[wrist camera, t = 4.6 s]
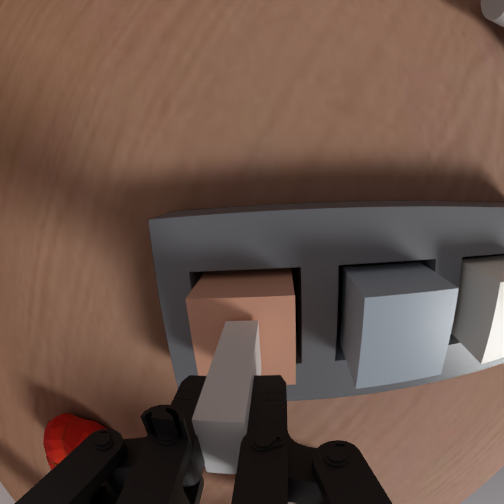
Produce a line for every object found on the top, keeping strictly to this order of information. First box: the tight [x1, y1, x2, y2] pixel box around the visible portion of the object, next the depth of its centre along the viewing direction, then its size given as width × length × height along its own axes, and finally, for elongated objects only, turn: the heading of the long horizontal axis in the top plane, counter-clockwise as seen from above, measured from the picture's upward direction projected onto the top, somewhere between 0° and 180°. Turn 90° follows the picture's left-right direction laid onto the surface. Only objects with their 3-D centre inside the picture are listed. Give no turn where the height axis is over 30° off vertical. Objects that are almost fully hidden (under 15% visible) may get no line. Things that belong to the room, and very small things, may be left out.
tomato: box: [43, 413, 107, 470], centre depth 24 cm, size 10×11×6 cm
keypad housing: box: [148, 201, 504, 401], centre depth 18 cm, size 26×12×4 cm, turn 94°
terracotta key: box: [186, 268, 296, 385], centre depth 17 cm, size 5×5×5 cm
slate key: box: [340, 262, 459, 389], centre depth 15 cm, size 5×5×5 cm
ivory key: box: [451, 255, 504, 364], centre depth 15 cm, size 5×5×5 cm
